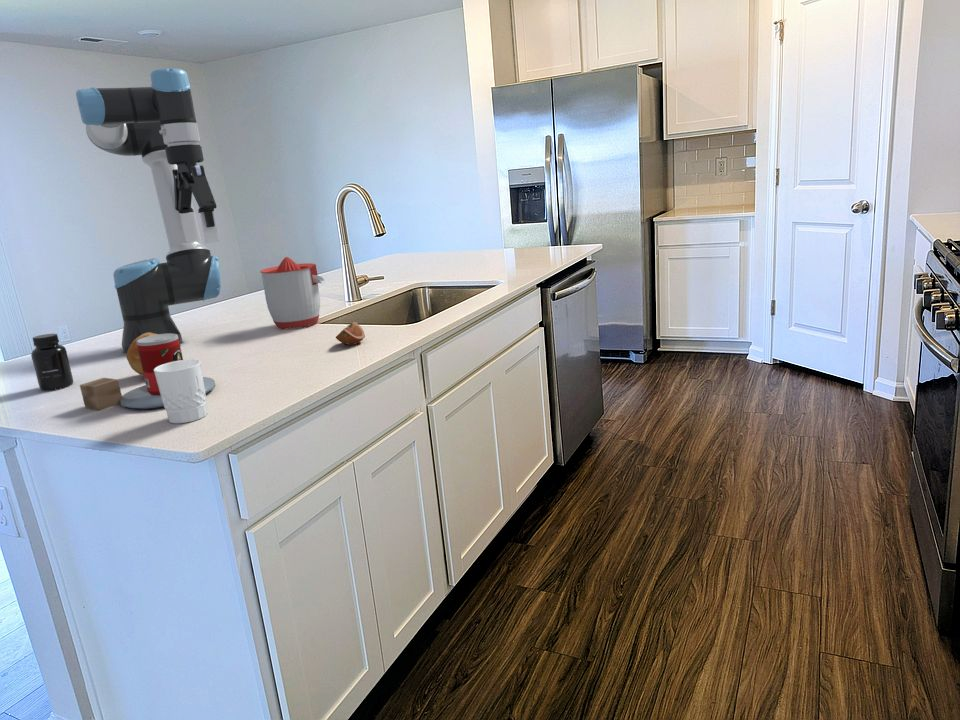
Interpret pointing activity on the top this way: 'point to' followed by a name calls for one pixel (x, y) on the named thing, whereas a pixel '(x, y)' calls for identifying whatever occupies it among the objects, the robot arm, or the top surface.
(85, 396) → the walnut block
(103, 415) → the top surface
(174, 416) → the white cup
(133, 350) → the onion
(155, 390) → the canned food
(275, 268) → the citrus juicer
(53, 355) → the supplement bottle
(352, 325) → the fruit slice
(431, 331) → the top surface
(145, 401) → the plate
